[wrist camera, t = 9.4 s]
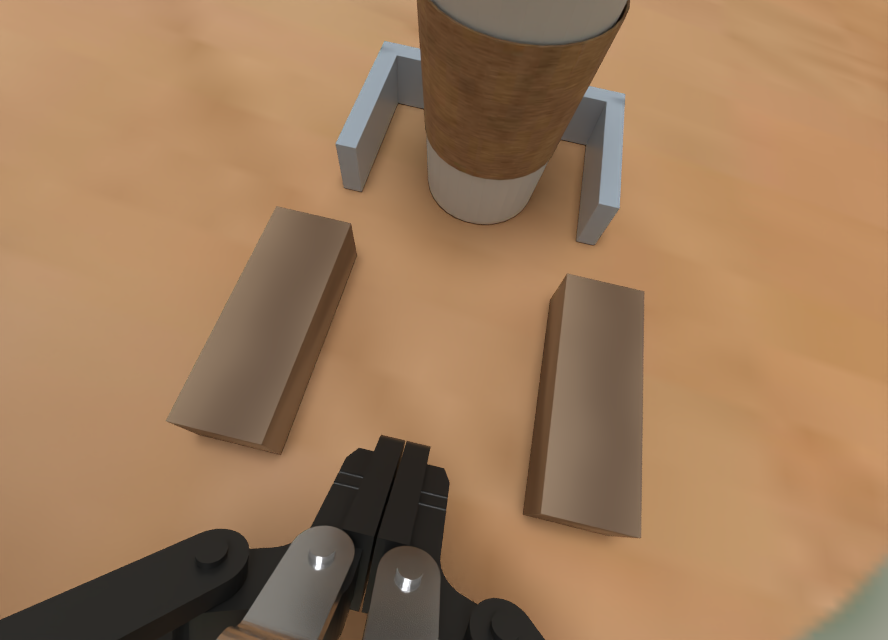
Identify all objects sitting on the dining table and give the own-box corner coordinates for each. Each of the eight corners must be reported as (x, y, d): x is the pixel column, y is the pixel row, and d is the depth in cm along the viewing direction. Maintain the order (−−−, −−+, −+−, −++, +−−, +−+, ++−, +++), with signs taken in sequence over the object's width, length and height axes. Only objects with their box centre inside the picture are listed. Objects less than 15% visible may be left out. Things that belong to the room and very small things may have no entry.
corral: (344, 187, 23) (335, 143, 20) (386, 89, 27) (384, 40, 24) (594, 245, 23) (619, 208, 20) (602, 137, 26) (624, 93, 24)
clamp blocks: (197, 434, 17) (165, 421, 15) (290, 239, 21) (276, 206, 19) (609, 535, 17) (641, 538, 14) (618, 315, 21) (644, 291, 19)
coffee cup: (565, 243, 23) (797, -163, 9) (408, 245, 22) (409, -199, 8) (539, 131, 26) (678, -279, 13) (403, 130, 25) (398, -313, 12)
